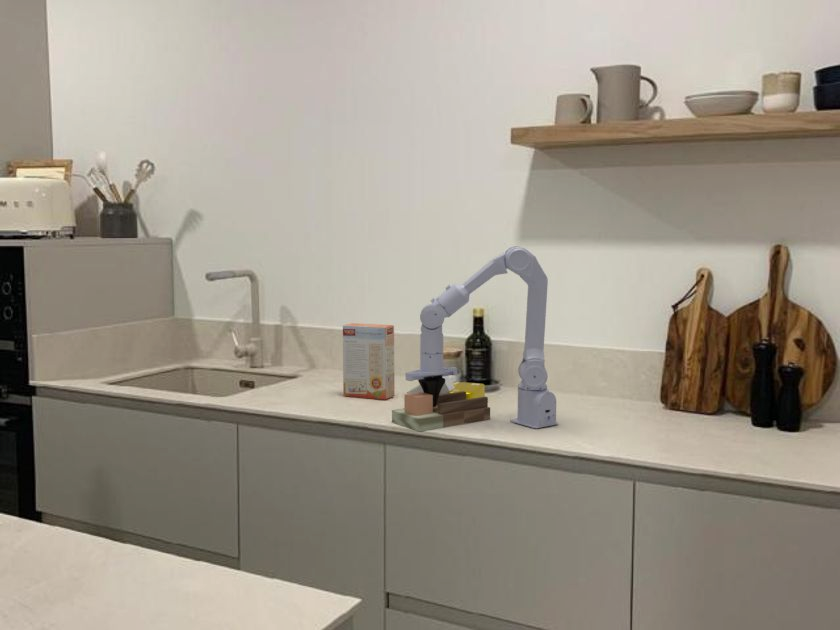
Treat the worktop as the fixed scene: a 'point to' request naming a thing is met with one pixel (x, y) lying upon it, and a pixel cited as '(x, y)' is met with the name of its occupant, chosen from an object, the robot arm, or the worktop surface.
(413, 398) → the block
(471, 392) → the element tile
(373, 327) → the cracker box
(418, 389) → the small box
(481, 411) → the trap channel
